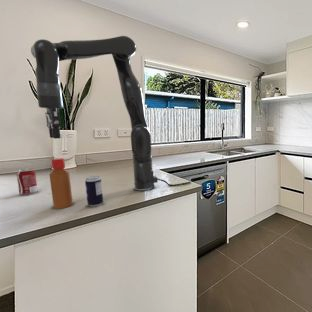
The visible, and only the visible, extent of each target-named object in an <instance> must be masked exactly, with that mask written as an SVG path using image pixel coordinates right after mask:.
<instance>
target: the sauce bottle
mask: <svg viewBox="0 0 312 312" xmlns="http://www.w3.org/2000/svg"><path fill="white" fill-rule="evenodd" d="M49 182H50V189H51V197H52V206H53V209H56V210H58V209H59V210H60V209H65V208H69V207H72V206H73V205H74V202H73V195H72V193H73V192H72V186H71V176H70V172H69V171H68V170H67V169H66V168H62V169H53V170H51V172H50V173H49Z"/></svg>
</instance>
